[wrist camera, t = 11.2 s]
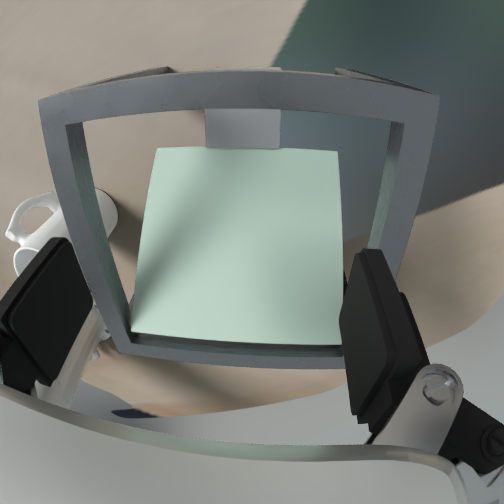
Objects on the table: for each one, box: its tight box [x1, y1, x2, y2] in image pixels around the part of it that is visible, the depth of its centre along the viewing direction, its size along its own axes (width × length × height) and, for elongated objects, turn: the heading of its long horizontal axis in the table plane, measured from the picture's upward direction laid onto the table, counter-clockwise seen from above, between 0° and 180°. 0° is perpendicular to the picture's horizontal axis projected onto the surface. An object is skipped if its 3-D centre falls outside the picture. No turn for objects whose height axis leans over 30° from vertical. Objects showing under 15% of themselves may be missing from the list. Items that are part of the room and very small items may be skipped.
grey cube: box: [204, 67, 282, 149], centre depth 23 cm, size 6×6×6 cm
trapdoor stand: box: [38, 67, 440, 369], centre depth 22 cm, size 18×18×16 cm
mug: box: [6, 188, 118, 277], centre depth 27 cm, size 10×7×12 cm, turn 42°
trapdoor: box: [131, 147, 343, 345], centre depth 22 cm, size 14×14×1 cm
